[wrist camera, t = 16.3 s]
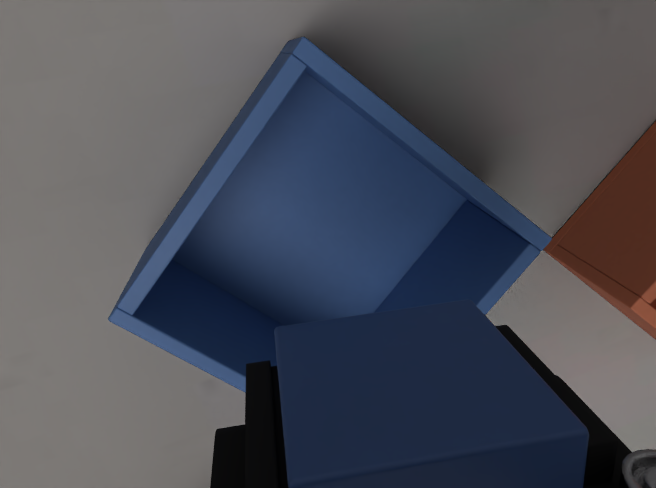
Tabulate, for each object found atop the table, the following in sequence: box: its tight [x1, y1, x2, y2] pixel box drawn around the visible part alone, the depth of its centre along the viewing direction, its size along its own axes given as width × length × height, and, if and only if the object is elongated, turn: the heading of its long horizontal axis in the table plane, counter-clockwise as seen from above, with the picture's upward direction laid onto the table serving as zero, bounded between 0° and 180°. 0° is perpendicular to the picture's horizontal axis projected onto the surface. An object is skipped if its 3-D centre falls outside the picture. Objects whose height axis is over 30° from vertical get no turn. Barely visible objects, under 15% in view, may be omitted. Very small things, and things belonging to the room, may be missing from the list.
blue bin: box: [108, 37, 552, 393], centre depth 21 cm, size 11×11×7 cm
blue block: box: [274, 299, 589, 488], centre depth 10 cm, size 4×4×4 cm
